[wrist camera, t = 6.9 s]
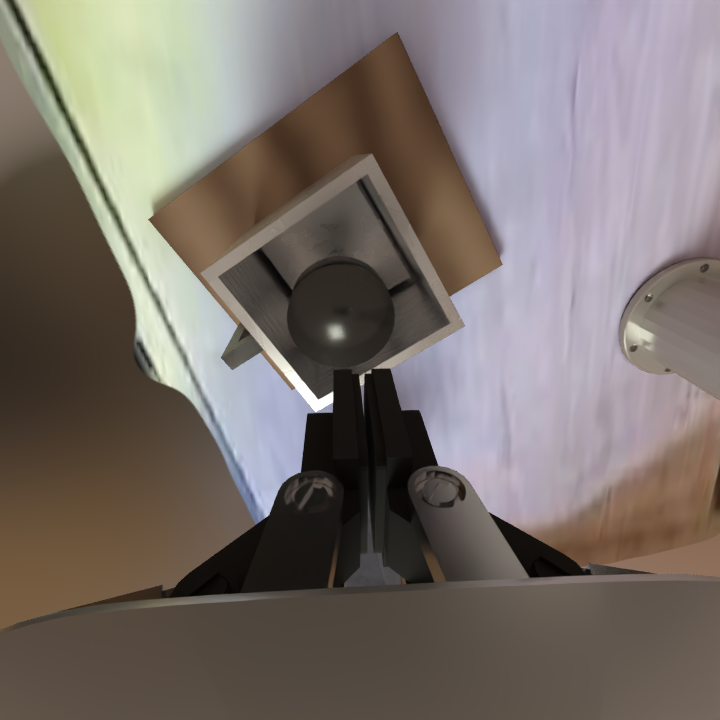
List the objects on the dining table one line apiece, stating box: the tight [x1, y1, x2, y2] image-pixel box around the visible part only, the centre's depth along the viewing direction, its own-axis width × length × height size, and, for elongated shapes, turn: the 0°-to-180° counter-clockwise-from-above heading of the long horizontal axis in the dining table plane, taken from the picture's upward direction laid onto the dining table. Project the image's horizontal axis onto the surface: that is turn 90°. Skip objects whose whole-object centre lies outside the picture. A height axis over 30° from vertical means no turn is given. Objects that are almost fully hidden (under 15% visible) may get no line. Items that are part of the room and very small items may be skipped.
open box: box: [200, 154, 465, 412], centre depth 28 cm, size 13×10×16 cm
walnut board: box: [148, 32, 503, 390], centre depth 36 cm, size 24×20×1 cm
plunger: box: [261, 182, 410, 367], centre depth 24 cm, size 8×8×13 cm
